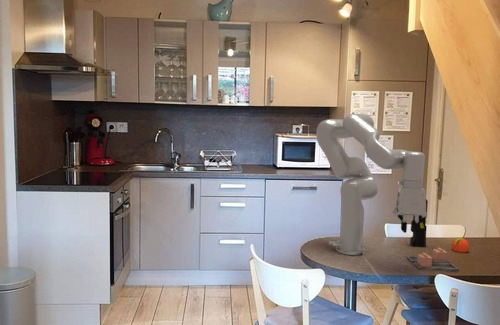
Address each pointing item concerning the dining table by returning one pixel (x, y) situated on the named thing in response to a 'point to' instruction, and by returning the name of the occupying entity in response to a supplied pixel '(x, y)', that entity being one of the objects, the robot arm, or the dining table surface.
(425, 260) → the pink block
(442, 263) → the switch board
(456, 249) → the clementine
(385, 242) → the dining table surface
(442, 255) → the tab far
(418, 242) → the portable radio
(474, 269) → the dining table surface
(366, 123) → the robot arm
